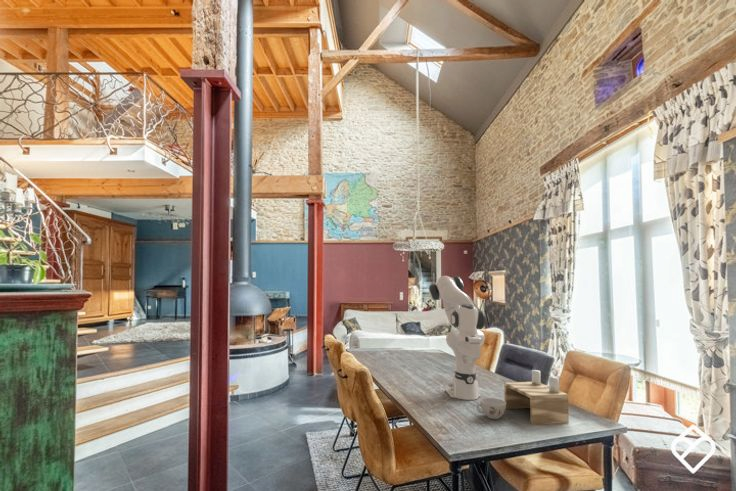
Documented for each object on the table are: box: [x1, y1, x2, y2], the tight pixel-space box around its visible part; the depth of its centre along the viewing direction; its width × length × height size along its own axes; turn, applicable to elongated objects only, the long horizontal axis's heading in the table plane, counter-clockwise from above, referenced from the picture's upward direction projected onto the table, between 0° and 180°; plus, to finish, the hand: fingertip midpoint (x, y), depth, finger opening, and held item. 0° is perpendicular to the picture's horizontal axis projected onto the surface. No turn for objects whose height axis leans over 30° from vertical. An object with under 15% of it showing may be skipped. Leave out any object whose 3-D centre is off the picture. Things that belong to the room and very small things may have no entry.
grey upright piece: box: [548, 375, 560, 393], centre depth 192 cm, size 4×4×7 cm
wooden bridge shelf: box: [503, 381, 570, 426], centre depth 197 cm, size 24×20×14 cm
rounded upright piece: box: [531, 369, 542, 385], centre depth 206 cm, size 4×4×7 cm
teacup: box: [476, 397, 507, 420], centre depth 191 cm, size 15×12×8 cm
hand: (468, 365), depth 191 cm, fingers open, 8 cm apart
